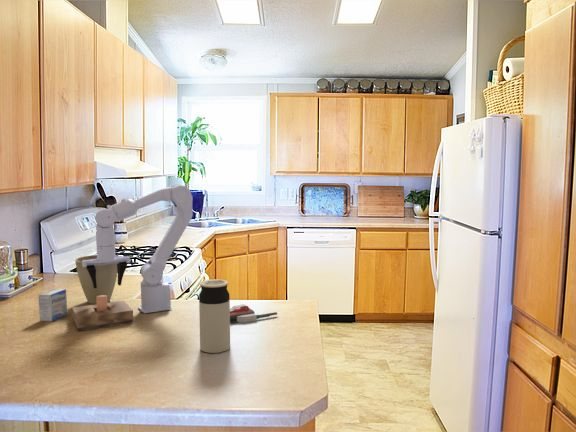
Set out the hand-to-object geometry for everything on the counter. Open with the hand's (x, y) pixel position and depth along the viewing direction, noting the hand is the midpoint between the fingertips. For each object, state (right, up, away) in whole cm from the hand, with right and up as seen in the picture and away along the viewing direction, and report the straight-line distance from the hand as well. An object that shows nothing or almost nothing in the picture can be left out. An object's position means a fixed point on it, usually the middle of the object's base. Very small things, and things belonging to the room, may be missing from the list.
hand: (107, 286), depth 161 cm
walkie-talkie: (+46, -10, -4) cm, 47 cm away
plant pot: (-9, -8, +16) cm, 20 cm away
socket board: (+1, -10, -7) cm, 12 cm away
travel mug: (+40, -13, -30) cm, 52 cm away
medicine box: (-16, -10, -3) cm, 19 cm away
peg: (+1, -9, -7) cm, 11 cm away
